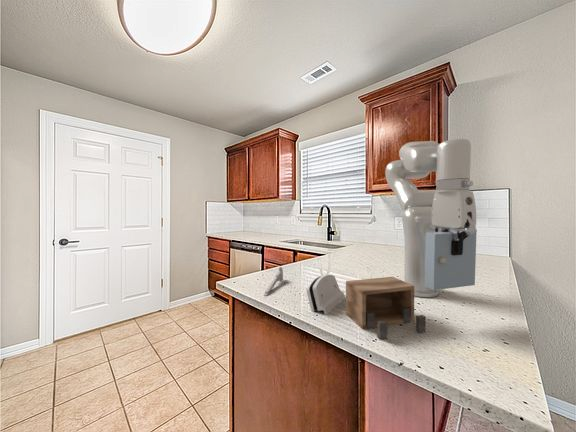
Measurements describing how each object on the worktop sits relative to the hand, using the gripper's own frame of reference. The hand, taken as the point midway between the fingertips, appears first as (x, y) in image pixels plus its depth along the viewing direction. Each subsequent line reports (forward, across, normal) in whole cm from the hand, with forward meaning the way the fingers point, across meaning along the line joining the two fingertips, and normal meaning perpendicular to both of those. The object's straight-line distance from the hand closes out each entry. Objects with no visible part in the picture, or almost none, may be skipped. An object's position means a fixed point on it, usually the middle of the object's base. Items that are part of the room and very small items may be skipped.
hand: (450, 252), depth 66 cm
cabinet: (+19, +3, +18) cm, 27 cm away
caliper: (+20, +40, +42) cm, 62 cm away
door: (+9, 0, 0) cm, 9 cm away
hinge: (+20, +20, +29) cm, 40 cm away
